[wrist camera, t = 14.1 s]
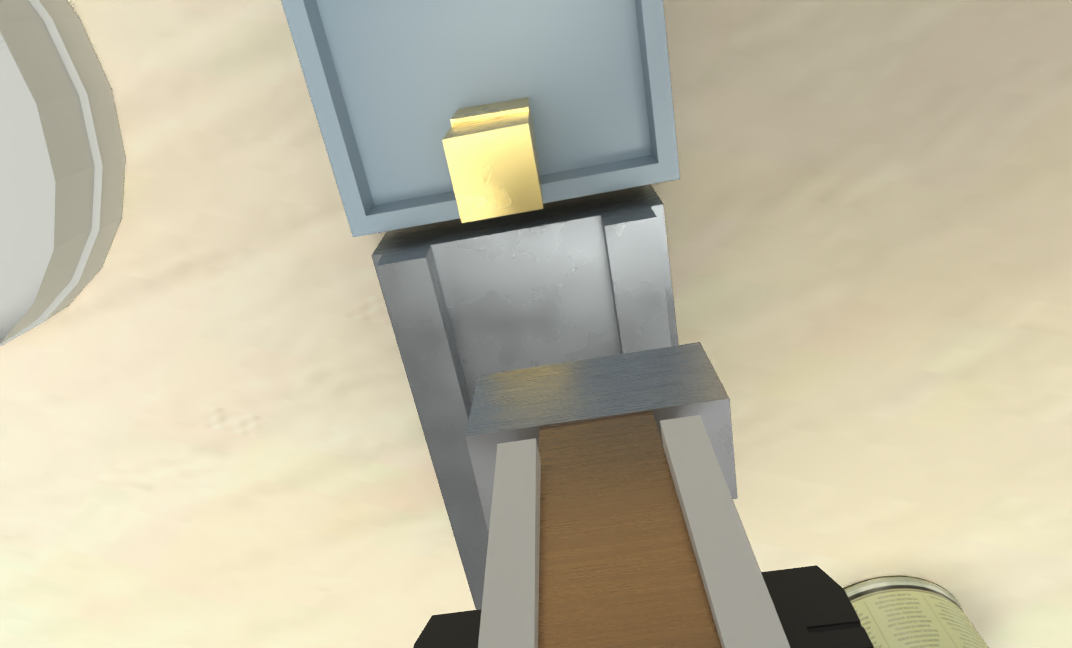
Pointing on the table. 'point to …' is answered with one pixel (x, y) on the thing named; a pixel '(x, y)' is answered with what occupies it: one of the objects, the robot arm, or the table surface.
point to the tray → (483, 94)
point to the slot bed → (518, 315)
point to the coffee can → (911, 614)
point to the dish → (53, 162)
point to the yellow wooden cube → (493, 112)
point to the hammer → (609, 491)
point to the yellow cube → (494, 167)
